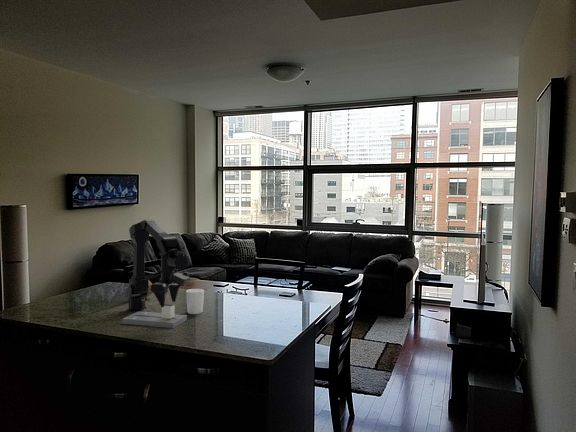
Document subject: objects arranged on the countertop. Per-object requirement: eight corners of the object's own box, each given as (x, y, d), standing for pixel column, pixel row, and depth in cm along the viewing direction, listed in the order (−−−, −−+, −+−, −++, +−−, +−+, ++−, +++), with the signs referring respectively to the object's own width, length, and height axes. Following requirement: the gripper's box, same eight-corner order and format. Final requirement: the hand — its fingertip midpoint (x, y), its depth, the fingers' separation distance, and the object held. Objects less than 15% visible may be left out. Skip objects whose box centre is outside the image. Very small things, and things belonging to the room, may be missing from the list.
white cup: (199, 315, 192) (199, 292, 192) (183, 314, 194) (183, 291, 194) (206, 310, 200) (206, 289, 200) (190, 309, 202) (190, 288, 201)
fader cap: (161, 318, 179) (161, 305, 179) (165, 315, 183) (165, 303, 182) (170, 318, 178) (170, 305, 178) (174, 316, 182) (174, 303, 181)
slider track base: (122, 323, 179) (122, 318, 179) (138, 315, 190) (138, 310, 190) (173, 328, 173) (173, 322, 173) (187, 319, 185) (187, 314, 185)
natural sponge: (157, 297, 225) (157, 278, 224) (146, 301, 216) (146, 281, 216) (143, 295, 228) (143, 277, 227) (131, 299, 219) (131, 280, 219)
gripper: (175, 271, 168) (175, 311, 169) (196, 264, 186) (196, 300, 187) (149, 270, 171) (149, 309, 172) (172, 263, 189) (172, 298, 190)
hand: (168, 304), depth 180 cm, fingers open, 9 cm apart
